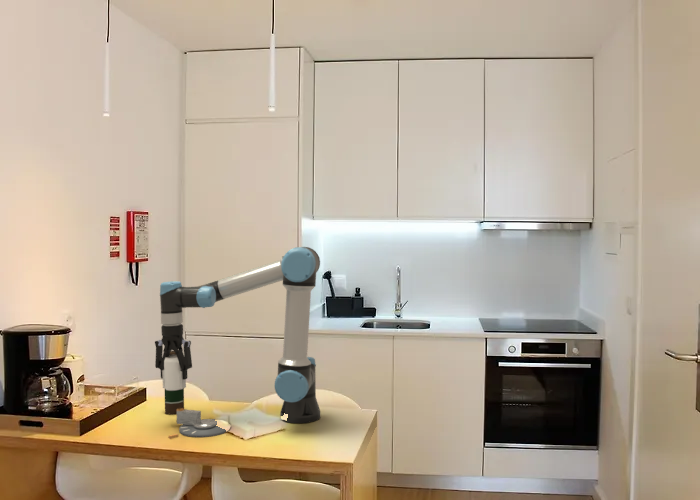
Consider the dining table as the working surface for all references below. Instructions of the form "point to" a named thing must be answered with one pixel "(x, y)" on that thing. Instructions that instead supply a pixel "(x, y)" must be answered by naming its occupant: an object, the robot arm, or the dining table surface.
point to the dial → (194, 419)
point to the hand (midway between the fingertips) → (174, 387)
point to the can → (172, 373)
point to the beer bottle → (173, 399)
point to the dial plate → (200, 431)
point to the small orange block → (173, 436)
